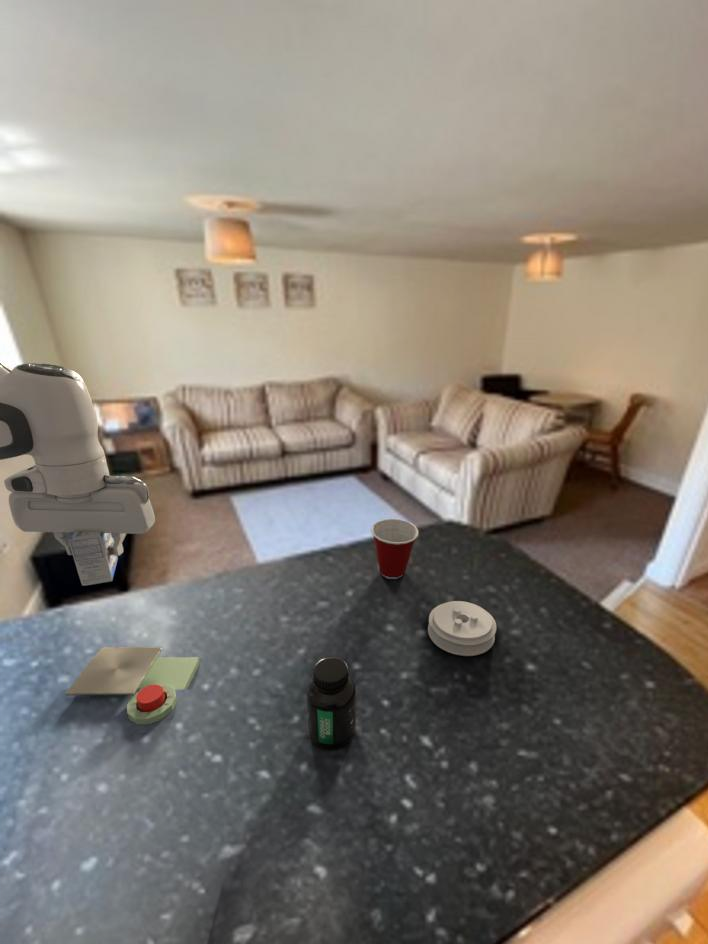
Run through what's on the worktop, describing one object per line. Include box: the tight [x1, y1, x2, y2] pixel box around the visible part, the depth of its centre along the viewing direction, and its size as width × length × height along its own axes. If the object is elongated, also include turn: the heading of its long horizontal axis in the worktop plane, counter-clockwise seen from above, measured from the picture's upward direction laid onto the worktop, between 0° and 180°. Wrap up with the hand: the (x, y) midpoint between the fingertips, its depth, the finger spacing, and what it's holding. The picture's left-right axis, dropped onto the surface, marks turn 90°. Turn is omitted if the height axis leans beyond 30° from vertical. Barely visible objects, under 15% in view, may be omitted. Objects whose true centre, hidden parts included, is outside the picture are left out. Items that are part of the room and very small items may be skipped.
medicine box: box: [69, 532, 119, 586], centre depth 74 cm, size 8×4×9 cm, turn 22°
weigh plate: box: [65, 646, 163, 696], centre depth 72 cm, size 10×10×1 cm
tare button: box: [136, 684, 166, 712], centre depth 66 cm, size 4×4×2 cm
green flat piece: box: [126, 656, 201, 725], centre depth 70 cm, size 16×14×3 cm
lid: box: [427, 600, 497, 657], centre depth 85 cm, size 13×13×5 cm
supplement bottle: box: [306, 656, 357, 751], centre depth 64 cm, size 7×7×12 cm
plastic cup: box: [370, 518, 419, 577], centre depth 103 cm, size 11×11×12 cm
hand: (95, 553), depth 74 cm, fingers closed on medicine box, 5 cm apart
